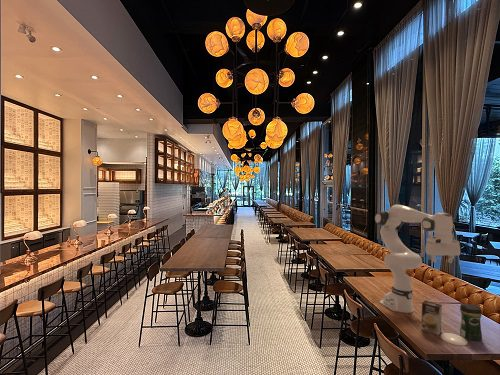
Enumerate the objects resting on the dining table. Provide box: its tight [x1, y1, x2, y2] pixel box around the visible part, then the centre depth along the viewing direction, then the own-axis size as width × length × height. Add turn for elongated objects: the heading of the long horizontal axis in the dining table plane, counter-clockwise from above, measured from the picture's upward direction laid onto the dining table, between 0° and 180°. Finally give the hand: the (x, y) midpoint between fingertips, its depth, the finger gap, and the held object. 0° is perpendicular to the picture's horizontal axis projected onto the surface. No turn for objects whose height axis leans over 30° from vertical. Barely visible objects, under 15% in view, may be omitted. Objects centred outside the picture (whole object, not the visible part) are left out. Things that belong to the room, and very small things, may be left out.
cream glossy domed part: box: [440, 332, 468, 347], centre depth 159 cm, size 12×12×1 cm
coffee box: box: [421, 299, 443, 335], centre depth 170 cm, size 9×6×16 cm
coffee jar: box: [459, 303, 483, 341], centre depth 163 cm, size 10×8×19 cm
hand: (442, 262), depth 173 cm, fingers open, 8 cm apart
